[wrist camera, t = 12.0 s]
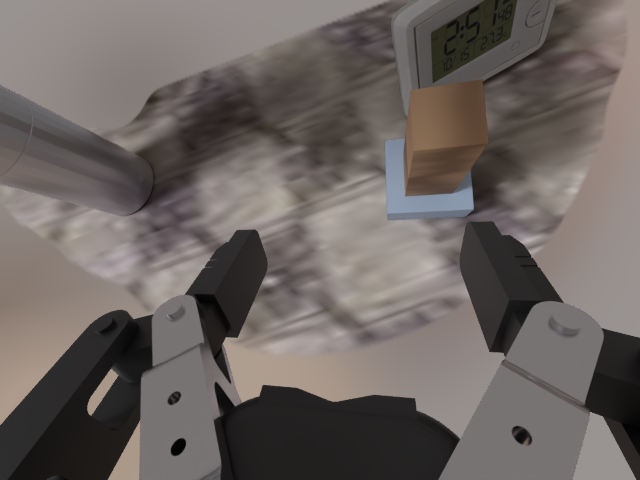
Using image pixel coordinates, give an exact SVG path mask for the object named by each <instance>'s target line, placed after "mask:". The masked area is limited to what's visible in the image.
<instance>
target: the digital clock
mask: <svg viewBox="0 0 640 480" xmlns="http://www.w3.org/2000/svg"><path fill="white" fill-rule="evenodd" d="M556 2H557V0H412V1H411V2H409V3H408V4H406V5H405V6H403V7H402V8H401V9H399V10H398V11H397V12H396V13H395V15H394V16H393V18H392V21H391V31H392V40H393V46H394V53H395V60H396V67H397V73H398V80H399V87H400V93H401V100H402V107H403V111H404V114H405V116H406V117H408V108H409V99H410V91H411V90H414V89H421V88H428V87H434V86H441V85H447V84H454V83H461V82H467V81H474V80H481V79H483V81H484V80H486V79H488V78H490V77H491V76H493V75H495V74H497V73H498V72H500V71H502V70H504V69H505V68H507V67H509V66H511V65H512V64H514V63H516V62H518V61H519V60H521V59H523V58H525V57H526V56H528V55H530V54H531V53H533V52H535V51H536V50H537V49H539V48H540V47H541V46H542V45H543V43H544V41H545V39H546V36H547V33H548V30H549V26H550V23H551V19H552V16H553V12H554V9H555V5H556Z"/></svg>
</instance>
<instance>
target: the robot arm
mask: <svg viewBox="0 0 640 480" xmlns="http://www.w3.org/2000/svg"><path fill="white" fill-rule="evenodd" d="M0 185H2V186H6V187H10V188H14V189H18V190H22V191H26V192H30V193H34V194H37V195H41V196H45V197H49V198H53V199H57V200H61V201H65V202H69V203H72V204H76V205H80V206H84V207H88V208H91V209H95V210H99V211H103V212H107V213H111V214H115V215H120V216H125V215H129V214H132V213H134V212H136V211H137V210H139V209H140V208H141V207H142V206H143V205H144V204H145V202H146V201H147V199H148V198H149V196H150V193H151V191H152V187H153V172H152V169H151V166H150V165H149V163H148V162H147V161H146V160H145V159H143V158H142V157H140V156H138V155H136V154H134V153H132V152H130V151H128V150H126V149H124V148H122V147H120V146H119V145H117V144H115V143H113V142H111V141H109V140H107V139H105V138H103V137H101V136H99V135H97V134H95V133H93V132H91V131H89V130H88V129H86V128H84V127H82V126H80V125H78V124H76V123H74V122H72V121H70V120H68V119H66V118H64V117H62V116H60V115H58V114H56V113H55V112H53V111H51V110H49V109H47V108H44V107H42V106H41V105H39V104H37V103H35V102H33V101H31V100H29V99H27V98H25V97H23V96H21V95H20V94H17V93H15V92H13V91H11V90H9V89H7V88H5V87H3V86H2V85H0ZM460 270H461V273H462V276H463V279H464V282H465V285H466V287H467V290H468V293H469V296H470V299H471V301H472V304H473V307H474V310H475V312H476V315H477V318H478V321H479V324H480V326H481V329H482V332H483V335H484V337H485V340H486V343H487V346H488V349H489V352H501V353H504V356H505V359H504V360H503V361H502V363H501V365H500V366H499V368H498V370H497V372H496V374H495V375H494V378H493V379H492V381H491V383H490V385H489V387H488V389H487V390H486V392H485V394H484V396H483V398H482V400H481V401H480V403H479V405H478V407H477V409H476V411H475V413H474V415H473V416H472V418H471V420H470V422H469V424H468V426H467V428H466V429H465V431H464V433H463V435H462V437H461V439H460V438H459V437H458V436H457V435H455V434H454V433H453V432H452V431H451V430H450V429H448V428H447V427H446V426H444V425H443V424H442V423H440V422H439V421H437V420H435V419H434V418H432V417H430V416H428V415H426V414H424V413H421V412H419V411H416V402H415V398H404V397H393V396H381V395H371V396H366V397H360V398H355V399H349V400H344V401H339V402H331V401H328V400H326V399H323V398H321V397H318V396H316V395H313V394H311V393H308V392H306V391H303V390H301V389H298V388H292V387H280V386H268V385H263V386H262V390H261V393H260V396H259V397H256V398H253V399H250V400H247V401H245V402H243V403H242V401H241V399H240V397H239V395H238V392H237V390H236V387H235V383H234V380H233V376H232V372H231V369H230V365H229V362H228V358H227V354H226V351H225V348H224V346H223V342H224V340H225V338H226V337H234V338H238V336H239V333H240V331H241V329H242V326H243V324H244V322H245V320H246V317H247V315H248V313H249V310H250V308H251V306H252V304H253V301H254V299H255V297H256V294H257V292H258V290H259V288H260V285H261V283H262V281H263V278H264V276H265V274H266V271H267V257H266V254H265V251H264V248H263V246H262V243H261V240H260V237H259V234H258V232H257V231H256V230H237V231H236V232H235V233H234V235H233V236H232V238H231V239H230V241H229V242H226V243H225V244H223V245H222V246H221V247H220V248H218V249H217V250H216V251H215V253H214V254H213V255H212V257H211V258H210V261H208V262H207V264H206V265H205V268H203V270H202V271H201V272H200V274H199V275H198V277H197V278H196V280H195V281H194V282H193V284H192V285H191V287H190V288H189V289H188V291H187V292H186V294H185V295H180V296H176V297H174V298H172V299H170V300H168V301H166V302H165V303H163V304H162V305H161V306H160V307H159V308H158V309H157V310H156V312H155V313H154V314H153V315H149V316H145V317H141V318H137V319H133V318H132V317H131V316H130V315H129V313H128V312H127V311H124V310H116V311H112V312H109V313H107V314H105V315H103V316H101V317H100V318H98V319H97V320H95V321H94V322H93V323H92V324H90V326H89V327H88V328H87V329H86V330H85V331H84V332H83V333H82V334H81V335H80V336H79V338H78V339H77V340H76V341H75V342H74V343H73V344H72V345H71V347H70V348H69V349H68V350H67V351H66V352H65V353H64V354H63V356H62V357H61V358H60V359H59V360H58V361H57V362H56V363H55V365H54V366H53V367H52V368H51V369H50V370H49V371H48V373H47V374H46V375H45V376H44V377H43V378H42V379H41V380H40V381H39V382H38V384H37V385H36V386H35V387H34V388H33V389H32V390H31V391H30V393H29V394H28V395H27V396H26V397H25V398H24V399H23V400H22V402H21V403H20V404H19V405H18V406H17V407H16V408H15V410H14V411H13V412H12V413H11V414H10V415H9V416H8V417H7V418H6V419H5V421H4V422H3V423H2V424H1V425H0V480H108V478H109V476H110V474H111V472H112V471H113V469H114V467H115V465H116V463H117V462H118V460H119V458H120V456H121V454H122V452H123V451H124V449H125V447H126V445H127V443H128V441H129V439H130V438H131V436H132V434H133V432H134V430H135V428H136V427H137V425H138V423H139V421H140V420H141V421H140V474H139V477H140V478H139V480H572V479H573V476H574V472H575V468H576V464H577V461H578V458H579V454H580V450H581V447H582V443H583V440H584V436H585V432H586V429H587V425H588V421H589V416H590V412H592V413H595V414H598V415H601V416H603V417H604V419H605V421H606V423H607V425H608V426H609V428H610V430H611V432H612V434H613V436H614V438H615V440H616V442H617V444H618V445H619V447H620V449H621V451H622V453H623V455H624V457H625V459H626V461H627V463H628V464H629V466H630V468H631V470H632V472H633V474H634V476H635V478H636V480H640V338H638V337H634V336H630V335H626V334H622V333H618V332H614V331H610V330H606V329H603V328H601V327H600V325H599V324H598V323H597V322H596V321H595V320H594V319H593V318H592V317H591V316H590V315H588V314H587V313H585V312H584V311H582V310H580V309H578V308H576V307H574V306H571V305H568V304H565V303H564V302H563V301H562V300H561V298H560V297H559V295H558V294H557V292H556V291H555V290H554V288H553V287H552V285H551V284H550V282H549V281H548V279H547V278H546V276H545V275H544V274H543V272H542V271H541V269H540V268H538V265H537V263H536V262H535V260H534V259H533V258H531V255H530V253H529V252H528V250H527V249H526V247H525V246H524V245H523V244H522V243H521V242H519V241H518V240H516V239H515V238H513V237H512V236H510V235H501V233H500V232H499V230H498V228H497V227H496V225H495V224H494V222H492V221H490V222H468V223H467V225H466V228H465V233H464V238H463V243H462V248H461V253H460ZM110 369H112V370H113V371H115V372H116V373H117V374H118V375H119V376H118V377H117V379H116V380H115V382H114V383H113V385H112V386H111V388H110V389H109V391H108V392H107V394H106V395H105V397H104V398H103V400H102V401H101V403H100V404H99V405H98V407H97V408H96V410H95V411H94V413H93V414H92V416H90V415H89V414H88V411H87V405H88V402H89V399H90V397H91V396H92V394H93V393H94V391H95V390H96V389H97V387H98V386H99V384H100V383H101V382H102V380H103V379H104V377H105V376H106V375H107V373H108V371H109V370H110Z"/></svg>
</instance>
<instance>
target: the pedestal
mask: <svg viewBox="0 0 640 480" xmlns="http://www.w3.org/2000/svg"><path fill="white" fill-rule="evenodd" d="M404 143H405V138H404V139H396V140H387V141H385V157H386V188H387V220H404V219H426V218H448V217H466V216H467V215H468V214H469V213H470V212H471V211H473V210H474V204H473V192H472V180H471V169H470V170H469V172H468V173H467V175H466V176H465V177H464V179H463V180H462V182H461V183H460V184H459V186H458V187H457V189H456V190H455V191H454V193H453V194H438V195H422V196H407V197H405V188H404V165H403V151H404Z"/></svg>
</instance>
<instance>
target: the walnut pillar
mask: <svg viewBox="0 0 640 480" xmlns="http://www.w3.org/2000/svg"><path fill="white" fill-rule="evenodd" d="M488 144H489V140H488V130H487V119H486V109H485V99H484V88H483V79H481V80H474V81H467V82H461V83H454V84H447V85H441V86H434V87H428V88H421V89H414V90H411V91H410V99H409V108H408V117H407V125H406V134H405V143H404V151H403V165H404V188H405V197H407V196H422V195H438V194H453V193H454V191H455V190H456V189H457V187H458V186H459V184H460V183H461V182H462V180H463V179H464V177H465V176H466V175H467V173H468V172H469V170H470V169H471V168H472V166H473V165H474V163H475V162H476V161H477V159H478V158H479V156H480V155H481V153H482V152H483V151H484V149H485V148H486V146H487V145H488Z"/></svg>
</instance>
